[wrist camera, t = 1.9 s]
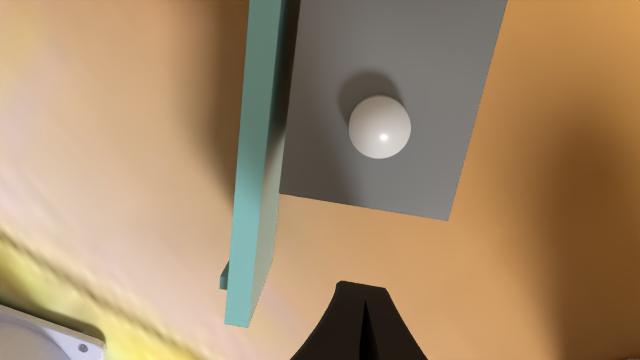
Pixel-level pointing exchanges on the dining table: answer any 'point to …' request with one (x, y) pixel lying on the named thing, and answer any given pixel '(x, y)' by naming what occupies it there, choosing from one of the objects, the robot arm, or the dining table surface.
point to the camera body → (386, 100)
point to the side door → (260, 153)
